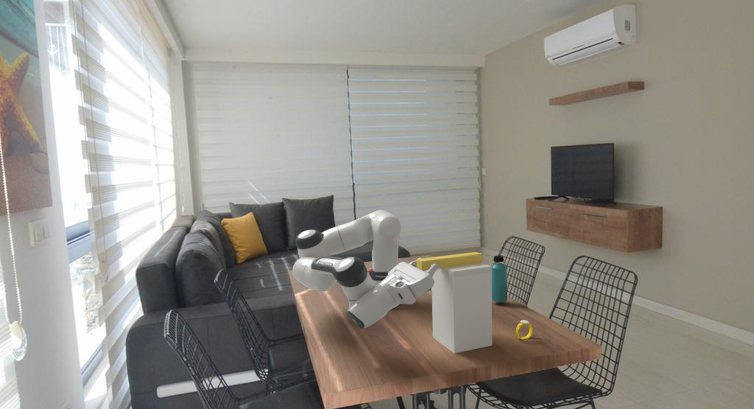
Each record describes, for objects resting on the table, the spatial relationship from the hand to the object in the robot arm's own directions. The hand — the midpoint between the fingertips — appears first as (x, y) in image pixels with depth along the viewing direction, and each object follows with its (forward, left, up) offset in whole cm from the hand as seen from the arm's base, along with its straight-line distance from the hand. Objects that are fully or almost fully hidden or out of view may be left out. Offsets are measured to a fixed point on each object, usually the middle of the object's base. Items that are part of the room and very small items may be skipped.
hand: (429, 262), depth 141 cm
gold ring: (+30, +10, -28) cm, 42 cm away
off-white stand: (+10, +6, -28) cm, 30 cm away
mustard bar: (+6, +4, -2) cm, 7 cm away
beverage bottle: (+26, +46, -28) cm, 60 cm away
